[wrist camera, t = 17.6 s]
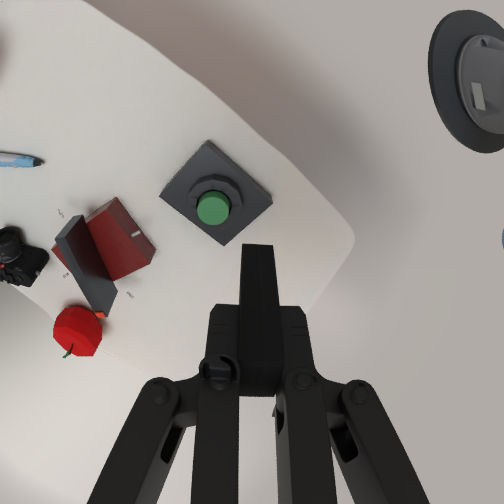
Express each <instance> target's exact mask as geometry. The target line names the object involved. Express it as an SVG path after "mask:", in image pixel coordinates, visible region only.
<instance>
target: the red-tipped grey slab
mask: <svg viewBox="0 0 504 504" xmlns="http://www.w3.org/2000/svg"><path fill="white" fill-rule="evenodd" d="M55 241H56V243H57V245H58V247H59V249H60V251H61V253H62V255H63V257H64V259H65V261H66V263H67V265H68V267H69V269H70V271H71V272H72V274H73V276H74V278H75V280H76V282H77V283H78V285H79V287H80V289H81V290H82V292H83V294H84V295H85V297H86V299H87V300H88V302H89V304H90V305H91V307H92V309H93V310H94V312H95V314H96V316H97V317H98V318H106V317H108V314H109V312H110V309H111V307H112V304H113V302H114V300H115V297H116V295H117V292H118V291H117V289H116V287H115V285H114V283H113V281H112V279H111V277H110V275H109V273H108V271H107V269H106V266H105V264H104V262H103V260H102V258H101V256H100V254H99V251H98V249H97V247H96V245H95V242H94V240H93V238H92V235H91V233H90V231H89V228H88V226H87V223H86V221H85V219H84V216H83V215H78V216H73V217H72V219H71V220H70V221H69V222H68V223H67V224H66V226H65V227H64V228H63V229H62V230H61V232H60V233H59V234H58V235H57V237H56V238H55Z"/></svg>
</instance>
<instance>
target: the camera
mask: <svg viewBox="0 0 504 504" xmlns="http://www.w3.org/2000/svg"><path fill="white" fill-rule="evenodd" d="M48 260H49V255H48V253H47V252H46V251H45V250H43V249H40V248H36V247H31V246H27V245H23V244H20V241H19V237H18V233H17V230H16V229H15V228H14V227H5V228H2V229H0V281H2V282H3V280H5V281H7V283H10V284H14V285H17V286H19V285H23V286H26V287H31V286H32V284H33V282H34V281H35V279H36V278H37V277H38V275H40V272H41V271H42V269H43V268H44V267H45V265H46V264H47V262H48Z"/></svg>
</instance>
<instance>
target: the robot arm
mask: <svg viewBox="0 0 504 504" xmlns="http://www.w3.org/2000/svg"><path fill="white" fill-rule="evenodd" d="M454 76H455V85H456V90H457V94H458V98H459V100H460V103H461V105H462V108H463V110H464V111H465V113H466V115H467V116H468V117H469V119H470V120H471V121H472V122H473V123H474V124H475V125H476V126H478V127H480V128H481V129H484V130H486V131H488V132H491V133H495V134H504V42H503V41H501V40H499V39H497V38H495V37H492V36H489V35H480V34H476V35H472V36H469V37H468V38H466V39H465V40H464V41H463V42H462V44H461V45H460V47H459V49H458V52H457V55H456V59H455V67H454ZM502 243H503V248H504V229H503V233H502ZM307 326H308V325H307V320H306V315H305V314H304V312H303V311H302V309H301V308H300V306H280V305H279V295H278V286H277V276H276V267H275V258H274V250H273V245H260V244H242V255H241V273H240V294H239V305H231V304H216V305H215V306H214V308H213V309H212V311H211V312H210V318H209V326H208V334H207V343H206V351H205V358H204V359H203V360H202V361H201V362H200V365H199V373H198V374H197V375H195V376H194V377H192V378H189V379H186V380H181V381H175V382H173V381H171V380H170V379H168V378H163V377H157V378H153V379H151V380H149V381H147V382H146V384H145V385H144V386H143V388H142V389H141V392H140V393H139V396H138V398H137V399H136V402H135V403H134V405H133V407H132V409H131V411H130V413H129V415H128V417H127V419H126V421H125V423H124V426H123V427H122V430H121V432H120V433H119V436H118V438H117V440H116V442H115V444H114V446H113V448H112V450H111V452H110V454H109V457H108V458H107V461H106V463H105V465H104V467H103V469H102V471H101V474H100V476H99V478H98V480H97V482H96V484H95V486H94V489H93V491H92V493H91V496H90V498H89V500H88V502H87V504H156V503H157V501H158V498H159V496H160V493H161V491H162V488H163V486H164V483H165V481H166V478H167V476H168V473H169V471H170V468H171V466H172V463H173V460H174V458H175V455H176V453H177V450H178V448H179V445H180V443H181V440H182V438H183V435H184V433H185V430H186V428H187V427H190V426H195V425H196V432H195V444H194V457H193V458H194V459H193V471H192V486H191V504H238V462H239V461H238V460H239V459H238V458H239V457H238V456H239V452H238V451H239V396H248V397H252V396H253V397H274V395H275V393H276V405H275V408H274V410H273V414H272V417H275V432H276V455H277V480H278V504H337V495H336V486H335V476H334V467H333V460H332V459H333V458H332V451H331V447H332V449H333V452H334V454H335V456H336V459H337V461H338V464H339V466H340V468H341V471H342V474H343V476H344V479H345V481H346V483H347V486H348V488H349V491H350V493H351V495H352V498H353V500H354V503H355V504H430V503H429V501H428V499H427V496H426V494H425V492H424V490H423V487H422V485H421V483H420V481H419V479H418V477H417V474H416V472H415V470H414V468H413V466H412V464H411V462H410V460H409V457H408V456H407V453H406V451H405V449H404V447H403V445H402V443H401V441H400V439H399V437H398V435H397V433H396V431H395V429H394V427H393V425H392V423H391V421H390V419H389V417H388V415H387V413H386V411H385V409H384V407H383V405H382V403H381V402H380V400H379V398H378V396H377V394H376V392H375V390H374V388H373V387H372V386H371V385H370V384H369V383H367V382H366V381H363V380H352V381H350V382H348V383H347V384H341V383H337V382H333V381H330V380H327V379H325V378H324V377H322V376H321V375H320V374H319V373H318V372H317V370H316V369H315V365H314V360H313V354H312V348H311V343H310V336H309V331H308V327H307Z"/></svg>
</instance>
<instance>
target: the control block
mask: <svg viewBox="0 0 504 504" xmlns="http://www.w3.org/2000/svg"><path fill="white" fill-rule="evenodd" d="M209 191H218V192H221V193H223V194H224V195H225V196H226V197H227V198H228V200H229V214H228V217H227V219H226V220H225V221H224V222H222V223H220V224H218V225H210V224H206V223H204V222H203V221H202V220H201V219H200V218H199V216H198V213H197V208H198V204H199V201H200V198H201V197H202V195H204V194H205V193H207V192H209ZM159 197H160V198H162V199H163V200H164V201H165V202H167V203H168V204H169V205H171V206H172V207H173V208H174V209H176V210H177V211H178V212H180V213H181V214H182V215H184V216H185V217H186V218H187V219H189V220H190V221H191V222H193V223H194V224H195V225H196V226H198V227H199V228H200V229H202V230H203V231H204V232H206V233H207V234H208V235H210V236H211V237H212V238H213V239H215V240H216V241H217V242H219V243H220V244H221V245H223V246H225V245H226V244H227V243H228V242H229V241H230V240H232V239H233V238H234V237H235V236H236V235H237V234H238V233H240V232H241V231H242V230H243V229H244V228H245V227H246V226H248V225H249V224H250V223H251V222H252V221H253V220H254V219H256V218H257V217H258V216H259V215H260V214H261V213H262V212H264V211H265V210H266V209H267V208H268V207H269V206H271V205H272V204H273V202H272V197H271V195H270V194H269V193H268V192H266V191H265V190H264V189H263V188H262V187H261V186H260V185H259V184H258V183H257V182H256V181H254V180H253V179H252V178H251V177H250V176H249V175H248V174H247V173H246V172H244V171H243V170H242V169H241V168H240V167H239V166H238V165H237V164H236V163H234V162H233V161H232V160H231V159H230V158H229V157H228V156H226V155H225V154H224V153H223V152H222V151H221V150H220V149H218V148H217V147H216V146H215V145H214V144H213V143H212V142H210V141H209V140H207V141H206V142H205V143H204V144H203V145H202V146H201V147H200V148H199V149H198V150H197V151H196V153H195V154H194V155H193V156H192V157H191V158H190V159H189V160H188V161H187V162H186V163H185V165H184V166H183V167H182V168H181V169H180V170H179V171H178V172H177V174H176V175H175V176H174V177H173V178H172V179H171V180H170V182H169V183H168V184H167V185H166V186H165V187H164V189H163V190H162V192H161V194H160V195H159Z"/></svg>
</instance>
